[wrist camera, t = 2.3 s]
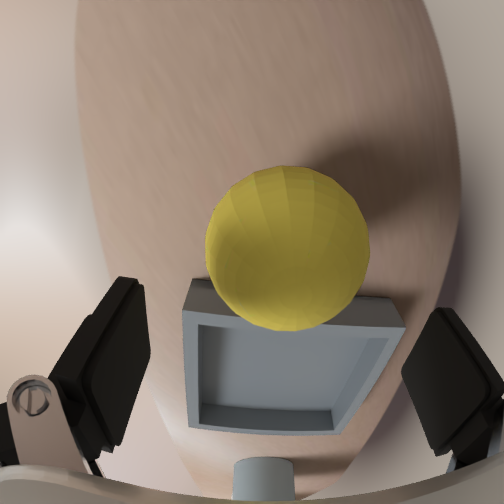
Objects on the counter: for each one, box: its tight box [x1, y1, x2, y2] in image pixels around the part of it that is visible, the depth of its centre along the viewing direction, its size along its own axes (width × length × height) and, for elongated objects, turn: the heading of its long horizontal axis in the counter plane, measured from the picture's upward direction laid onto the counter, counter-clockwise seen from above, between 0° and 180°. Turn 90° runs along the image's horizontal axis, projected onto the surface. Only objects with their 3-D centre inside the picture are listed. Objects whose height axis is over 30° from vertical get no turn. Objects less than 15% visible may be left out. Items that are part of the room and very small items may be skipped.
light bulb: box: [205, 166, 370, 331], centre depth 14 cm, size 7×7×10 cm
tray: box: [182, 279, 406, 436], centre depth 23 cm, size 15×15×4 cm
